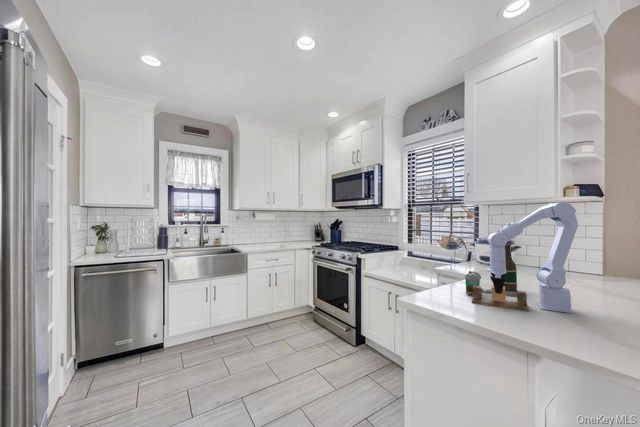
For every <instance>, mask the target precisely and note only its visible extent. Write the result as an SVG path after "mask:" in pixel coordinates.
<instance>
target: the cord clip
mask: <svg viewBox="0 0 640 427" xmlns="http://www.w3.org/2000/svg"><path fill="white" fill-rule="evenodd" d="M490 288H491V293H492V294H491V298H492V300H494V301H501V302H506V300H507V296H506V294H505V286H503V290H502V294H498V293H496V292H495V289H494V285H493V284H491V287H490Z"/></svg>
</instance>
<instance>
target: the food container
mask: <svg viewBox="0 0 640 427" xmlns="http://www.w3.org/2000/svg"><path fill="white" fill-rule="evenodd" d="M464 279H465V295H466V294H468V295H467V296H472V295H473V286H480V283H481V282H480V280H482V276H481V274H480V273H479V272H477V271H471V270H468V273H467V274H465V276H464Z"/></svg>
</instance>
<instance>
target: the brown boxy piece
mask: <svg viewBox="0 0 640 427" xmlns="http://www.w3.org/2000/svg"><path fill="white" fill-rule="evenodd" d="M482 294H486V295H487V294H488V295H492V293H491V289H489V288H482V286H480V285H479V286H473V296H472V299H471V303H472V302H473V303H472V304H477V303H480V304H479V305H483V304H485V305H484V306H486V305H487V306H492V307H497V308H505V309H511V310H518V311H519V310H520V311H523V312H524V311H525V312H529V311H530V307H529V305H528V301H527V299H528V298H527V291H523V290H517V292H508V291H505V294H506V297H511V298H516V301H514V300H507V299H506V302H501V301H494V300H492V297H485V296H482Z"/></svg>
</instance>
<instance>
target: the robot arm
mask: <svg viewBox="0 0 640 427" xmlns="http://www.w3.org/2000/svg"><path fill="white" fill-rule="evenodd" d="M576 212H577V209H576V208H575V207H574V206H573V205H572V204H570V202H565V201H561V202H550V203H549V202H548V203H547V204H546V205H543V206H540V207H539V208H538V209H536V210H535V211H533V212H531V213H530V214H528V215H527V216H526V217H523V218H522V219H521V220H519V221H517V222H515V221H514V222H506V224H505V226H504V227H501V228H500V229H497V230H495V232H493V233H491V234H489V235H488V237H487V239H486V240H487V243H488V244H489V268H487V269H486V272H490V277H489V278H490V280H491V282H492V285H494V289H495V292H496V293H498V294H502V290H503V285H504V282H505V281H506V278H504V277H505V275H506V261H505V245H506V244H508V241H509V242H510V241H511V240H512V239H515V238H516V237H518V236H520V235H521V234H523V232H524V229H525V228H528V227H529V226H531V225H533V224H534V223H535V224H536V222H539V221H540V220H542V219H551V220H552V221H553V222H554V223H556V224H557V226H558V229H557V232H556V235H555V236H554V237H555V238H554V241H553V242H552V245H551V249H550V251H549V255H548V257H547V260H546V262H544V263H543V264H542V265H541V268H540V269H539V270H538V271H536V279H537V280H538V281H539V284H538V285H539V302H537V305H538V306H539V309H540V310H546V311H547V310H548V311H553V312H560V313H561V312H562V313H568V314H572V312H573V311H572V298H571V292H570V289H569V288H567V287H566V288H565V285H566V282H567V280H566V275H567V271H566V270H565V268H564V267H565V265H566V260H567V258H568V254H569V253H570V251H571V250H570V249H571V247H572V244H573V241H574V239H575V237H576V236H575V235H576V233H577V230H578V228H579V227H578V226H579V223H578V219H577V216H576Z"/></svg>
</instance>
